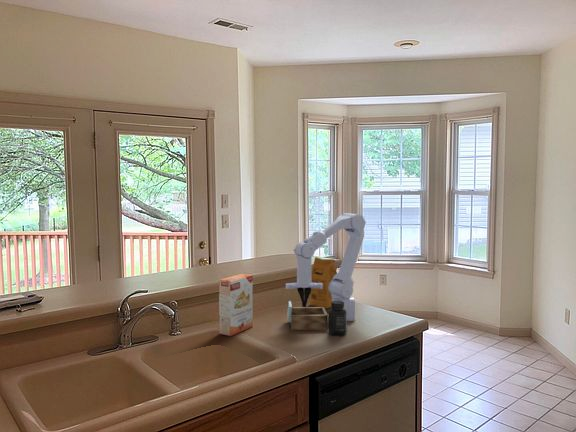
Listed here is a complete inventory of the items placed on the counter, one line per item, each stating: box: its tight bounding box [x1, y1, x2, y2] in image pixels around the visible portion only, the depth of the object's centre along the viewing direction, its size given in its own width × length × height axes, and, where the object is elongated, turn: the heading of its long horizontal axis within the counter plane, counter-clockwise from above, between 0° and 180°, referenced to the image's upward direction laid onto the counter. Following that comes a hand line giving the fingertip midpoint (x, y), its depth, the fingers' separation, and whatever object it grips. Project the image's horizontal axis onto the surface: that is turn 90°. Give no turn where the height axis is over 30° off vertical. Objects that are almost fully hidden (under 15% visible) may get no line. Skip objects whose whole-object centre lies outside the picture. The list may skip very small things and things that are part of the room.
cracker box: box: [218, 273, 254, 337], centre depth 183 cm, size 14×6×21 cm, turn 148°
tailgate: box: [286, 300, 293, 324], centre depth 190 cm, size 1×9×6 cm, turn 2°
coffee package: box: [309, 256, 338, 310], centre depth 219 cm, size 10×12×22 cm
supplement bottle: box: [327, 301, 348, 337], centre depth 180 cm, size 7×7×12 cm
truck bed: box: [289, 306, 328, 331], centre depth 191 cm, size 14×12×6 cm
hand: (304, 306), depth 190 cm, fingers closed
